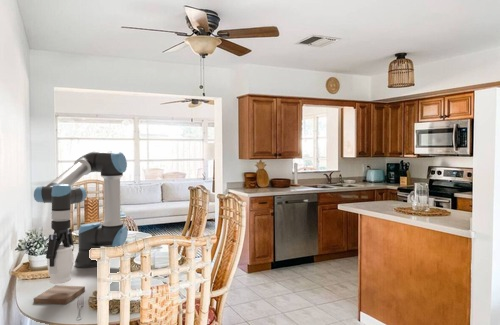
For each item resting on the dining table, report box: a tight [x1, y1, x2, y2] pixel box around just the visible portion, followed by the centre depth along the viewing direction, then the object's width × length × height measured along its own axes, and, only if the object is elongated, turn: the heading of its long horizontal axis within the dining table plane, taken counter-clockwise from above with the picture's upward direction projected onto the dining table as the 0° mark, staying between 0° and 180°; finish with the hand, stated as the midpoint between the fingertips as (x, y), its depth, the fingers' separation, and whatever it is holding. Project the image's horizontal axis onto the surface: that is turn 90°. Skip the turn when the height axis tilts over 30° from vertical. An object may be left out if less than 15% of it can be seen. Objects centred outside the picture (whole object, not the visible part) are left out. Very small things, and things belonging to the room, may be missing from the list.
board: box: [33, 284, 86, 305], centre depth 166 cm, size 16×14×2 cm
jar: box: [46, 244, 75, 285], centre depth 166 cm, size 11×10×15 cm
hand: (60, 269), depth 166 cm, fingers closed on jar, 10 cm apart
